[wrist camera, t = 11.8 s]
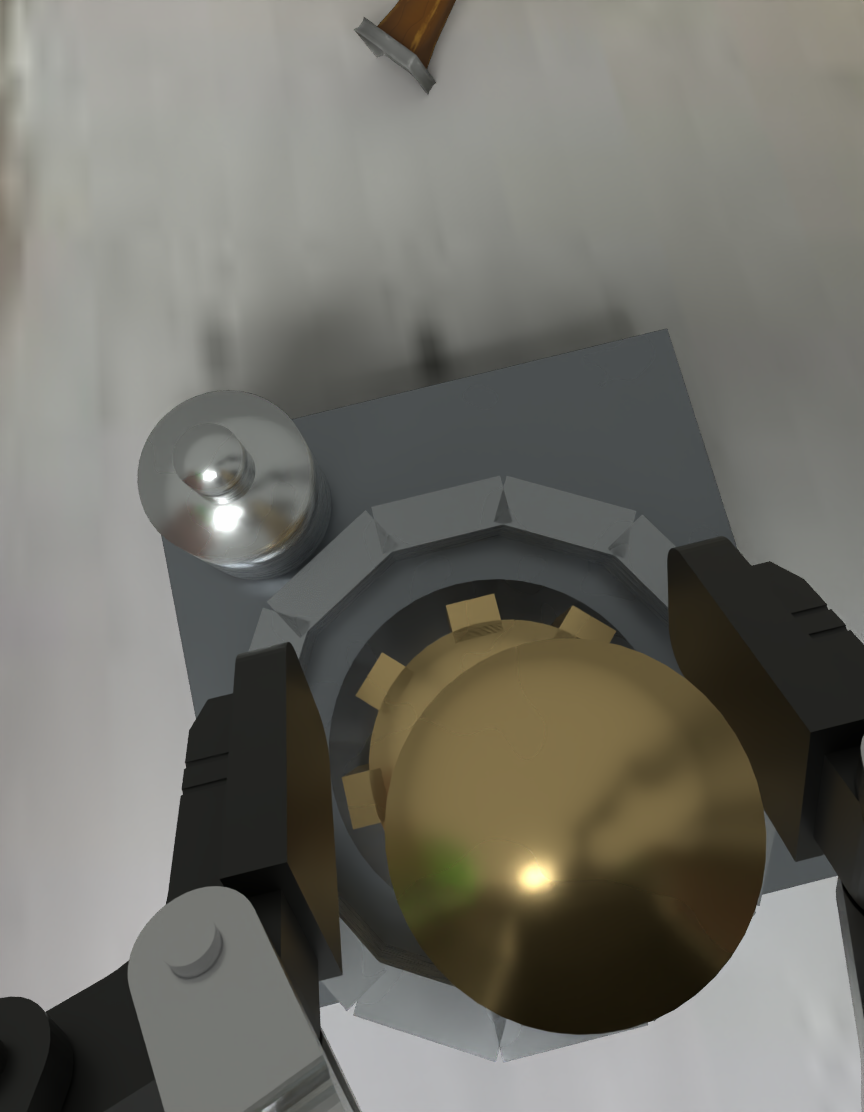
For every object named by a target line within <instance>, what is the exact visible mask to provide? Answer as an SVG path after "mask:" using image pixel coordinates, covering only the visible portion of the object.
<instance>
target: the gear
mask: <svg viewBox="0 0 864 1112" xmlns="http://www.w3.org/2000/svg"><path fill="white" fill-rule="evenodd" d="M446 612H447V621H448V625H449V629H450V633H449V634H447V635H445V636H443V637H441V638H440V639H438V640H437V641H435V642H433V643H432V644H430V645H429V646H427V647H426V648H425V649H424V650H422V651H421V652H420V653H419V654H418V655H417V656H415V657H414V658H413V659H412V660H411V661H410V662H409V663H408V665H407V666H406V667H405V666H404V665H402V664H400V663H399V662H397V661H396V660H394V659H392V658H391V657H389V656H387V655H386V654H384V653H381V655H380V657H379V658H378V660H377V661H376V663H375V665H374V666H373V668H372V670H371V671H370V673H369V674H368V676H367V678H366V679H365V681H364V683H363V684H362V686H361V688H360V689H359V691H358V692H357V694H356V696H357V697H358V698H360V699H362V700H363V701H365V702H366V703H368V704H370V705H371V706H373V707H374V708H376V709H378V710H379V712H378V715H377V717H376V720H375V724H374V728H373V732H372V737H371V743H370V753H369V763H368V764H364V765H360V766H357V767H356V768H355V769H353V770H352V771H350V772H349V773H347V774H346V775H344V776H343V777H342V781H343V785H344V790H345V795H346V799H347V804H348V808H349V813H350V818H351V822H352V827H353V829H357V828H361V827H365V826H369V825H373V824H377V823H381V824H382V826H383V828H384V831H385V850H386V856H387V862H388V868H389V875H390V878H391V882H392V885H393V889H394V892H395V896H396V899H397V902H398V904H399V906H400V909H401V911H402V913H403V916H404V918H405V920H406V923H407V925H408V926H409V928H410V930H411V932H412V933H413V935H414V937H415V938H416V940H417V942H418V943H419V945H420V947H421V948H422V949H423V951H424V952H425V953H426V955H427V956H428V957H429V958H430V960H431V961H432V962H433V964H434V965H435V966H436V967H437V969H438V970H439V971H440V972H441V973H442V974H443V975H444V976H445V977H446V978H447V979H448V980H449V981H450V982H451V983H452V984H453V985H454V986H456V987H457V988H458V989H459V990H461V991H462V992H463V993H465V994H466V995H467V996H469V997H470V998H471V999H472V1000H474V1001H475V1002H476V1003H478V1004H480V1005H481V1006H483V1007H485V1008H487V1009H489V1010H490V1011H492V1012H494V1013H496V1014H497V1015H499V1016H501V1017H504V1018H506V1019H509V1020H511V1021H514V1022H516V1023H519V1024H521V1025H524V1026H527V1027H531V1028H535V1029H539V1030H543V1031H547V1032H553V1033H562V1034H572V1035H587V1034H604V1033H610V1032H615V1031H621V1030H626V1029H630V1028H633V1027H636V1026H639V1025H642V1024H645V1023H648V1022H651V1021H653V1020H655V1019H657V1018H659V1017H661V1016H663V1015H665V1014H667V1013H669V1012H671V1011H673V1010H675V1009H676V1008H678V1007H679V1006H681V1005H682V1004H683V1003H685V1002H686V1001H688V1000H689V999H691V998H692V997H693V996H695V995H696V994H697V993H698V992H699V991H701V990H702V989H703V988H704V987H705V986H706V985H707V984H708V983H709V982H710V981H711V980H712V979H713V978H714V977H715V976H716V975H717V974H718V973H719V971H720V970H721V969H722V968H723V966H724V965H725V964H726V963H727V962H728V960H729V959H730V958H731V956H732V955H733V953H734V951H735V950H736V948H737V947H738V945H739V943H740V942H741V940H742V938H743V937H744V935H745V933H746V930H747V928H748V926H749V923H750V921H751V919H752V916H753V914H754V912H755V909H756V905H757V902H758V898H759V895H760V891H761V888H762V883H763V876H764V869H765V862H766V827H765V818H764V809H763V804H762V800H761V796H760V792H759V787H758V783H757V780H756V778H755V775H754V772H753V770H752V767H751V764H750V762H749V759H748V757H747V755H746V753H745V751H744V749H743V747H742V745H741V743H740V741H739V740H738V738H737V736H736V734H735V733H734V731H733V730H732V728H731V727H730V725H729V724H728V723H727V721H726V720H725V718H724V717H723V715H722V714H721V713H720V712H719V711H718V709H717V708H716V707H715V706H714V705H713V704H712V703H711V702H710V700H709V699H708V698H707V697H706V696H705V695H704V694H703V693H702V692H701V691H699V690H698V689H697V688H696V687H695V686H694V685H693V684H691V683H690V682H689V681H688V680H687V679H686V678H684V677H683V676H681V675H680V674H678V673H677V672H675V671H674V670H672V669H671V668H669V667H668V666H666V665H665V664H663V663H661V662H659V661H657V660H655V659H653V658H651V657H649V656H647V655H645V654H643V653H640V652H638V651H635V650H632V649H629V648H626V647H623V646H621V645H616V644H612V643H610V641H611V640H612V638H613V636H614V634H615V633H616V630H614V629H612V628H610V627H609V626H607V625H605V624H604V623H602V622H600V621H599V620H597V619H595V618H593V617H592V616H590V615H588V614H587V613H585V612H583V611H582V610H580V609H578V608H576V607H575V606H573V605H572V606H571V607H570V608H568V609H567V610H566V611H565V612H563V613H562V614H561V615H560V616H558V617H557V618H556V619H555V621H554V622H553V624H552V626H550V625H546V624H542V623H537V622H533V621H524V620H501V618H500V614H499V610H498V606H497V603H496V599H495V595H494V594H490V595H486V596H482V597H478V598H474V599H470V600H466V601H462V602H458V603H454V604H449V605H446Z"/></svg>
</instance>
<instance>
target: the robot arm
mask: <svg viewBox="0 0 864 1112" xmlns="http://www.w3.org/2000/svg"><path fill="white" fill-rule="evenodd" d="M667 577H668V614H669V635H670V641H671V645H672V649H673V652H674V656H675V658H676V661H677V664H678V666H679V668H680V670H681V672H682V674H683V676H684V677H685V678H686V679H687V680H688V681H689V682H690V683H691V684H693V685H694V686H695V687H696V688H697V689H698V690H699V691H701V692H702V693H703V694H704V695H705V696H706V697H707V698H708V699H709V700H710V702H711V703H712V704H713V705H714V706H715V707H716V708H717V709H718V711H719V712H720V713H721V714H722V715H723V717H724V718H725V720H726V721H727V723H728V724H729V725H730V727H731V728H732V730H733V731H734V733H735V734H736V736H737V738H738V740H739V741H740V743H741V745H742V747H743V749H744V751H745V753H746V755H747V757H748V759H749V762H750V764H751V767H752V770H753V772H754V775H755V778H756V780H757V783H758V787H759V792H760V796H761V800H762V804H763V809H764V811H765V812H766V814H767V816H768V817H769V819H770V821H771V822H772V824H773V826H774V827H775V829H776V831H777V832H778V834H779V836H780V837H781V839H782V841H783V842H784V844H785V846H786V847H787V849H788V851H789V852H790V854H791V856H792V857H793V859H794V861H795V862H798V861H802V860H806V859H810V858H814V857H818V856H822V855H825V856H826V858H827V859H828V861H829V862H830V864H831V866H832V867H833V869H834V870H835V872H836V873H837V875H838V882H837V887H836V900H837V906H838V912H839V919H840V925H841V932H842V938H843V944H844V951H845V957H846V964H847V970H848V976H849V983H850V989H851V996H852V1002H853V1008H854V1015H855V1021H856V1028H857V1034H858V1040H859V1048H860V1057H861V1107H862V1112H864V645H863V643H862V642H861V641H860V640H859V639H858V638H857V637H856V636H855V635H854V634H853V632H852V631H851V630H849V631H847V629H846V625H845V624H844V623H843V621H842V620H841V619H840V618H839V617H838V616H837V615H836V614H835V613H834V612H833V610H832V609H830V610H828V608H827V604H826V603H825V602H824V601H823V600H822V598H821V597H820V596H819V595H818V594H817V593H816V592H815V591H814V590H813V589H812V587H811V586H810V585H809V584H808V583H807V582H806V581H805V580H804V579H802V578H801V577H799V576H797V575H795V574H793V573H791V572H789V571H787V570H785V569H784V568H782V567H780V566H778V565H776V564H774V563H772V562H770V561H769V562H765V563H761V564H757V565H753V566H751V565H750V564H749V563H748V562H747V560H746V559H745V558H744V557H743V556H742V554H741V553H740V552H739V551H738V550H737V548H736V547H735V546H734V545H733V544H732V542H731V541H730V540H729V539H728V538H726V537H724V536H719V537H715V538H711V539H707V540H703V541H699V542H695V543H691V544H686V545H682V546H678V547H674V548H671V549H670V550H669V552H668V556H667ZM185 763H186V769H184V775H183V783H182V791H183V795H181V798H180V806H179V814H178V821H177V829H176V837H175V844H174V852H173V860H172V867H171V875H170V883H169V891H168V897H167V901H166V905H165V906H164V907H163V908H162V909H161V910H159V911H158V912H157V913H156V914H155V915H154V916H153V917H152V918H151V920H150V921H149V922H148V923H147V924H146V926H145V927H144V929H143V930H142V931H141V933H140V935H139V936H138V938H137V940H136V942H135V944H134V947H133V949H132V952H131V955H130V959H129V961H127V962H126V963H125V964H124V965H122V966H121V967H120V968H119V969H118V970H116V971H114V972H113V973H111V974H110V975H108V976H107V977H105V978H104V979H102V980H100V981H98V982H97V983H95V984H93V985H91V986H90V987H88V988H86V989H85V990H83V991H81V992H79V993H78V994H76V995H74V996H72V997H71V998H69V999H67V1000H65V1001H64V1002H62V1003H60V1004H59V1005H57V1006H55V1007H53V1008H52V1009H50V1010H48V1011H46V1012H45V1011H44V1010H43V1009H42V1008H41V1007H40V1006H39V1005H38V1004H36V1003H35V1002H33V1001H32V1000H30V999H26V998H23V997H5V998H0V1112H362V1111H361V1109H360V1107H359V1104H358V1102H357V1100H356V1098H355V1096H354V1094H353V1092H352V1090H351V1088H350V1086H349V1084H348V1082H347V1080H346V1077H345V1075H344V1073H343V1071H342V1069H341V1067H340V1065H339V1063H338V1061H337V1059H336V1057H335V1055H334V1053H333V1050H332V1048H331V1046H330V1044H329V1042H328V1040H327V1038H326V1036H325V1034H324V1032H323V1030H322V1028H321V1026H320V1002H319V981H322V980H326V979H330V978H334V977H338V976H342V975H343V970H342V954H341V937H340V921H339V905H338V889H337V873H336V856H335V840H334V824H333V808H332V791H331V775H330V760H329V751H328V745H327V739H326V735H325V730H324V727H323V723H322V720H321V717H320V714H319V711H318V709H317V706H316V703H315V701H314V698H313V696H312V693H311V691H310V688H309V685H308V683H307V680H306V678H305V675H304V672H303V670H302V667H301V665H300V662H299V659H298V657H297V654H296V652H295V649H294V647H293V646H292V644H291V643H290V642H285V643H281V644H277V645H273V646H269V647H265V648H261V649H257V650H253V651H248V652H244V653H240V654H238V655H237V657H236V661H235V672H234V686H233V693H231V694H227V695H223V696H219V697H215V698H211V699H208V700H207V701H206V703H205V705H204V706H203V708H202V710H201V712H200V713H199V715H198V717H197V718H196V720H195V722H194V723H193V725H192V727H191V729H190V730H189V737H188V744H187V752H186V760H185Z"/></svg>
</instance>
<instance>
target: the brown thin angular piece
mask: <svg viewBox="0 0 864 1112" xmlns="http://www.w3.org/2000/svg"><path fill="white" fill-rule="evenodd" d="M455 1H456V0H399V2H398V3H397V4H396V6H395V7H394V8H393V9H392V10H391V11H390V12H389V14H388V15H387V16H386V17H385V18H384V19H383V20H382V21H381V22H380V24H379V25H378V26H376V25H374V24H373V23H372V22H370V21H369V20H368V19H366V18H365V17H364V19H363V22H362V23H361V25H360V26H359V27H358V28H356V29H354V30H355V31H356V33H357V34H358V35H359V36H360V37H361V39H362V40H363V41H364V42H365V44H366V45H367V46H368V47H369V48H370V50H371V51H372V52H373V53H374V55H375V56H376V57H380V56H382V55H383V54H385V55H386V56H387V57H389V58H390V59H392V60H393V61H394V62H396V63H397V64H398V65H400V66H401V67H403V68H404V69H405V70H407V71H408V72H409V73H411V74H412V75H413V76H414V77H415V78H416V80H417V81H418V82H419V84H420V85H421V86H422V88H423V89H424V90H425V92H426V93H427V94H429V91H430V90H431V88H432V86H433V85H434V84H435V83H436V82H435V81H434V79H433V78H432V76H431V75H430V74H429V72H428V71H427V67H428V64H429V62H430V59H431V56H432V53H433V50H434V47H435V45H436V42H437V40H438V38H439V36H440V34H441V31H442V29H443V27H444V25H445V23H446V21H447V18H448V16H449V14H450V12H451V10H452V7H453V5H454V3H455Z"/></svg>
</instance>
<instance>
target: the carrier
mask: <svg viewBox="0 0 864 1112" xmlns="http://www.w3.org/2000/svg"><path fill="white" fill-rule="evenodd" d="M138 490H139V495H140V499H141V503H142V506H143V508H144V510H145V513H146V515H147V516H148V518H149V520H150V522H151V523H152V524H153V526H154V527H155V528H156V529H157V531H158V532H159V533H160V534H161V536H162V541H163V546H164V552H165V557H166V562H167V568H168V573H169V578H170V583H171V589H172V594H173V599H174V605H175V610H176V615H177V621H178V626H179V631H180V636H181V642H182V647H183V652H184V658H185V663H186V668H187V674H188V679H189V684H190V689H191V695H192V700H193V705H194V711H195V716H196V718H197V717H198V715H199V713H200V712H201V710H202V708H203V706H204V705H205V703H206V701H207V700H208V699H211V698H215V697H219V696H223V695H227V694H231V693H233V686H234V672H235V661H236V657H237V655H238V654H240V653H244V652H248V651H253V650H257V649H261V648H265V647H269V646H273V645H277V644H281V643H285V642H290V643H291V644H292V646H293V647H294V649H295V652H296V654H297V657H298V659H299V662H300V665H301V667H302V670H303V672H304V675H305V678H306V680H307V683H308V685H309V688H310V691H311V693H312V696H313V698H314V701H315V703H316V706H317V709H318V711H319V714H320V717H321V720H322V723H323V727H324V730H325V735H326V739H327V745H328V751H329V760H330V775H331V791H332V808H333V824H334V840H335V856H336V873H337V889H338V905H339V921H340V937H341V954H342V970H343V975H342V976H338V977H334V978H330V979H326V980H322V981H319V1002H320V1007H323V1006H327V1005H331V1004H335V1003H339V1002H340V1004H341V1005H342V1006H343V1007H344V1008H345V1009H346V1011H347V1010H348V1009H349V1008H350V1007H351V1006H352V1005H353V1004H354V1003H355V1002H356V1001H357V1004H356V1007H355V1011H354V1014H353V1015H354V1016H357V1017H360V1018H363V1019H366V1020H369V1021H372V1022H375V1023H378V1024H381V1025H384V1026H387V1027H390V1028H393V1029H396V1030H399V1031H403V1032H406V1033H409V1034H412V1035H415V1036H418V1037H421V1038H424V1039H427V1040H430V1041H433V1042H436V1043H439V1044H442V1045H445V1046H448V1047H451V1048H454V1049H457V1050H460V1051H464V1052H467V1053H470V1054H473V1055H476V1056H479V1057H482V1058H485V1059H488V1060H491V1061H494V1062H496V1059H497V1055H498V1051H499V1047H500V1051H501V1055H502V1059H503V1062H507V1061H510V1060H514V1059H518V1058H522V1057H526V1056H530V1055H534V1054H538V1053H542V1052H545V1051H549V1050H553V1049H557V1048H561V1047H565V1046H569V1045H573V1044H577V1043H580V1042H584V1041H588V1040H592V1039H596V1038H600V1037H604V1036H608V1035H612V1034H615V1033H619V1032H623V1031H627V1030H631V1029H635V1028H639V1027H643V1026H647V1025H648V1023H645V1024H642V1025H639V1026H636V1027H633V1028H630V1029H626V1030H621V1031H615V1032H610V1033H604V1034H587V1035H572V1034H562V1033H553V1032H547V1031H543V1030H539V1029H535V1028H531V1027H527V1026H524V1025H521V1024H519V1023H516V1022H514V1021H511V1020H509V1019H506V1018H504V1017H501V1016H499V1015H497V1014H496V1013H494V1012H492V1011H490V1010H489V1009H487V1008H485V1007H483V1006H481V1005H480V1004H478V1003H476V1002H475V1001H474V1000H472V999H471V998H470V997H469V996H467V995H466V994H465V993H463V992H462V991H461V990H459V989H458V988H457V987H456V986H454V985H453V984H452V983H451V982H450V981H449V980H448V979H447V978H446V977H445V976H444V975H443V974H442V973H441V972H440V971H439V970H438V969H437V967H436V966H435V965H434V964H433V962H432V961H431V960H430V958H429V957H428V956H427V955H426V953H425V952H424V951H423V949H422V948H421V947H420V945H419V943H418V942H417V940H416V938H415V937H414V935H413V933H412V932H411V930H410V928H409V926H408V925H407V923H406V920H405V918H404V916H403V913H402V911H401V909H400V906H399V904H398V902H397V899H396V896H395V892H394V889H393V885H392V882H391V878H390V875H389V868H388V862H387V856H386V850H385V831H384V828H383V826H382V824H381V823H377V824H373V825H369V826H365V827H361V828H357V829H353V827H352V822H351V818H350V813H349V808H348V804H347V799H346V795H345V790H344V785H343V781H342V777H343V776H344V775H346V774H347V773H349V772H350V771H352V770H353V769H355V768H356V767H357V766H360V765H364V764H368V763H369V753H370V743H371V737H372V732H373V728H374V724H375V720H376V717H377V715H378V712H379V710H378V709H376V708H374V707H373V706H371V705H370V704H368V703H366V702H365V701H363V700H362V699H360V698H358V697H357V696H356V694H357V692H358V691H359V689H360V688H361V686H362V684H363V683H364V681H365V679H366V678H367V676H368V674H369V673H370V671H371V670H372V668H373V666H374V665H375V663H376V661H377V660H378V658H379V657H380V655H381V653H384V654H386V655H387V656H389V657H391V658H392V659H394V660H396V661H397V662H399V663H400V664H402V665H404V666H405V667H406V666H407V665H408V663H409V662H410V661H411V660H412V659H413V658H414V657H415V656H417V655H418V654H419V653H420V652H421V651H422V650H424V649H425V648H426V647H427V646H429V645H430V644H432V643H433V642H435V641H437V640H438V639H440V638H441V637H443V636H445V635H447V634H449V633H450V629H449V625H448V621H447V612H446V605H449V604H454V603H458V602H462V601H466V600H470V599H474V598H478V597H482V596H486V595H490V594H494V595H495V599H496V603H497V606H498V610H499V614H500V618H501V620H524V621H533V622H537V623H542V624H546V625H550V626H552V624H553V622H554V621H555V619H556V618H557V617H558V616H560V615H561V614H562V613H563V612H565V611H566V610H567V609H568V608H570V607H571V606H572V605H573V606H575V607H576V608H578V609H580V610H582V611H583V612H585V613H587V614H588V615H590V616H592V617H593V618H595V619H597V620H599V621H600V622H602V623H604V624H605V625H607V626H609V627H610V628H612V629H614V630H616V633H615V634H614V636H613V638H612V640H611V641H610V643H612V644H616V645H621V646H623V647H626V648H629V649H632V650H635V651H638V652H640V653H643V654H645V655H647V656H649V657H651V658H653V659H655V660H657V661H659V662H661V663H663V664H665V665H666V666H668V667H669V668H671V669H672V670H674V671H675V672H677V673H678V674H680V675H681V676H683V674H682V672H681V670H680V668H679V666H678V664H677V661H676V658H675V656H674V652H673V649H672V645H671V641H670V635H669V614H668V577H667V556H668V552H669V550H670V549H671V548H674V547H678V546H682V545H686V544H691V543H695V542H699V541H703V540H707V539H711V538H715V537H719V536H724V537H726V538H728V539H729V540H730V541H731V542H732V544H733V545H734V546H735V547H736V543H735V540H734V537H733V534H732V531H731V528H730V525H729V521H728V518H727V515H726V512H725V509H724V506H723V503H722V499H721V496H720V493H719V490H718V487H717V484H716V481H715V477H714V474H713V471H712V468H711V465H710V462H709V459H708V455H707V452H706V449H705V446H704V443H703V440H702V437H701V433H700V430H699V427H698V424H697V421H696V418H695V415H694V411H693V408H692V405H691V402H690V399H689V396H688V393H687V389H686V386H685V383H684V380H683V377H682V374H681V371H680V368H679V364H678V361H677V358H676V355H675V352H674V349H673V346H672V342H671V339H670V336H669V333H668V330H667V329H663V330H659V331H655V332H651V333H647V334H643V335H638V336H634V337H630V338H626V339H622V340H618V341H614V342H609V343H605V344H601V345H597V346H593V347H589V348H585V349H581V350H576V351H572V352H568V353H564V354H560V355H556V356H552V357H547V358H543V359H539V360H535V361H531V362H527V363H523V364H519V365H514V366H510V367H506V368H502V369H498V370H494V371H490V372H486V373H481V374H477V375H473V376H469V377H465V378H461V379H457V380H452V381H448V382H444V383H440V384H436V385H432V386H428V387H424V388H419V389H415V390H411V391H407V392H403V393H399V394H395V395H390V396H386V397H382V398H378V399H374V400H370V401H366V402H362V403H357V404H353V405H349V406H345V407H341V408H337V409H333V410H329V411H324V412H320V413H316V414H312V415H308V416H304V417H300V418H295V419H290V418H289V416H288V415H287V414H286V413H285V412H283V411H282V410H281V409H280V408H279V407H277V406H276V405H275V404H273V403H272V402H270V401H268V400H266V399H264V398H262V397H260V396H257V395H254V394H251V393H246V392H241V391H231V390H226V391H215V392H209V393H205V394H202V395H198V396H195V397H193V398H191V399H189V400H186V401H185V402H183V403H181V404H180V405H178V406H176V407H175V408H174V409H172V410H171V411H170V412H169V413H167V414H166V415H165V416H164V417H163V418H162V419H161V420H160V421H159V423H158V424H157V425H156V427H155V428H154V429H153V430H152V432H151V434H150V435H149V437H148V439H147V441H146V443H145V445H144V448H143V450H142V453H141V457H140V460H139V467H138ZM736 548H737V547H736ZM683 677H684V676H683ZM684 678H685V677H684ZM764 818H765V827H766V862H765V869H764V876H763V883H762V888H761V891H760V895H759V898H758V902H757V905H758V906H760V901H761V896H762V895H763V894H767V893H771V892H774V891H778V890H782V889H786V888H790V887H794V886H798V885H802V884H806V883H810V882H814V881H818V880H822V879H825V878H829V877H833V876H837V873H836V872H835V870H834V869H833V867H832V866H831V864H830V862H829V861H828V859H827V858H826V856H825V855H822V856H818V857H814V858H810V859H806V860H802V861H798V862H795V861H794V859H793V857H792V856H791V854H790V852H789V851H788V849H787V847H786V846H785V844H784V842H783V841H782V839H781V837H780V836H779V834H778V832H777V831H776V829H775V827H774V826H773V824H772V822H771V821H770V819H769V817H768V816H767V814H766V812H765V811H764ZM755 913H756V912H754V914H755ZM754 914H753V915H754ZM655 1020H656V1019H655ZM655 1020H654V1021H655Z"/></svg>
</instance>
